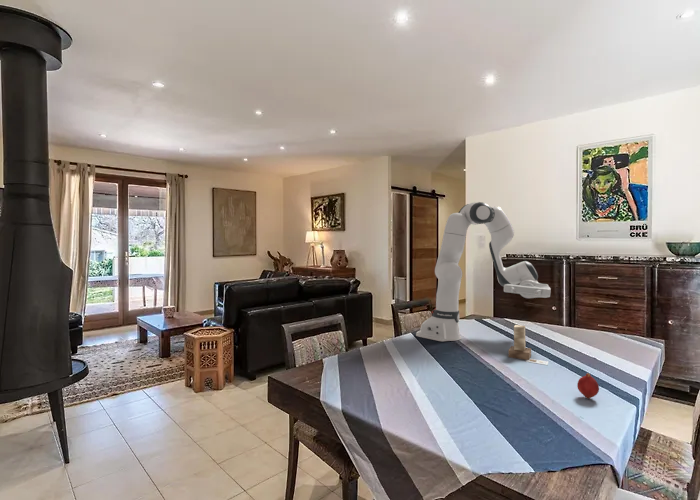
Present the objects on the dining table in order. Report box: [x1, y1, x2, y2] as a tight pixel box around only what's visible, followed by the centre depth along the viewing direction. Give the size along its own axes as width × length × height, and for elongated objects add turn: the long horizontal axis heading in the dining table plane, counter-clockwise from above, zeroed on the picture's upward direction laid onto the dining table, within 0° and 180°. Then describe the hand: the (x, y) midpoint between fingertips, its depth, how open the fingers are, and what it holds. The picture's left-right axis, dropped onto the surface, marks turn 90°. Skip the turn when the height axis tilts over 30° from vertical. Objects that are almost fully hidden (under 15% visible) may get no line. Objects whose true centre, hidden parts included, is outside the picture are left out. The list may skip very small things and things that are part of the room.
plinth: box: [508, 345, 532, 361], centre depth 161 cm, size 8×8×3 cm
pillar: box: [513, 324, 527, 351], centre depth 161 cm, size 4×4×10 cm
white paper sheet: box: [525, 358, 549, 366], centre depth 154 cm, size 8×5×1 cm, turn 59°
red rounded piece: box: [576, 373, 600, 399], centre depth 118 cm, size 6×6×8 cm
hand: (524, 291), depth 172 cm, fingers open, 8 cm apart
